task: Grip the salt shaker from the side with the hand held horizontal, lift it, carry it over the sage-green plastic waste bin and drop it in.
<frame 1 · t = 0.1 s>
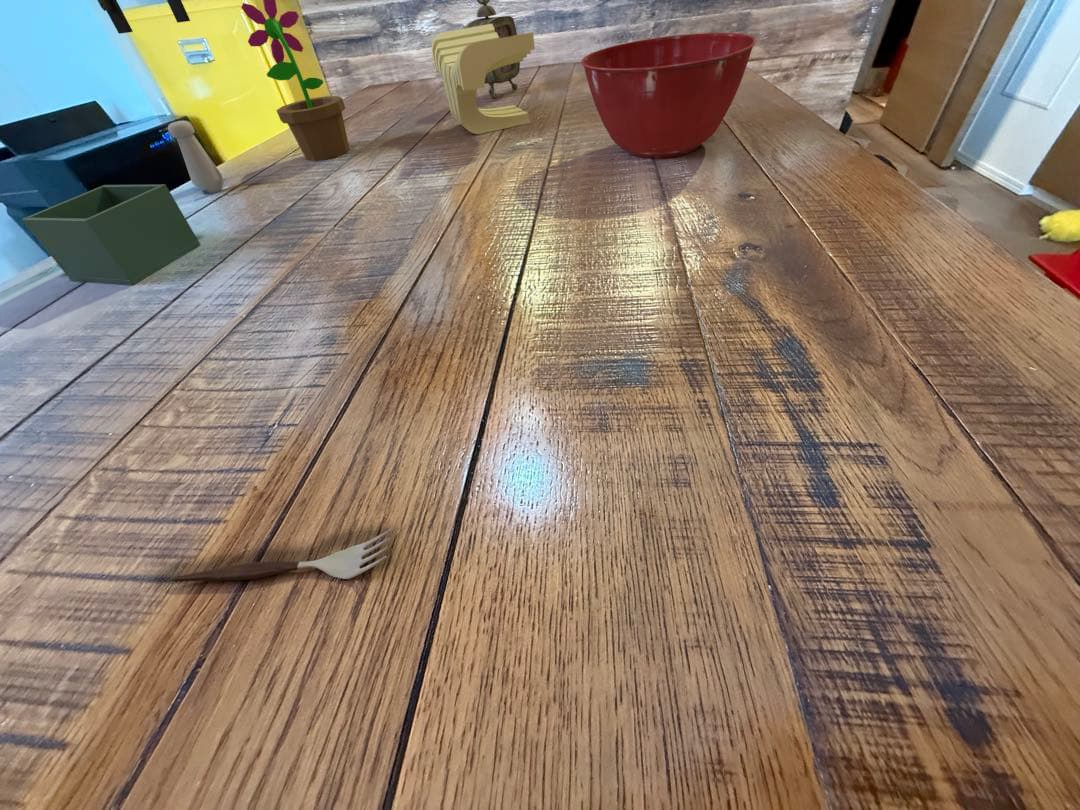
hand: (156, 27, 97), 27 cm above the table, tool pointing down, fingers open, 13 cm apart
fork: (287, 572, 36), on the table
waste bin: (138, 262, 82), on the table
mixing bowl: (661, 147, 96), on the table
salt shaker: (213, 191, 107), on the table
flowerpot: (328, 154, 119), on the table
slatted curved stool: (490, 125, 123), on the table
tabletop clock: (497, 95, 147), on the table
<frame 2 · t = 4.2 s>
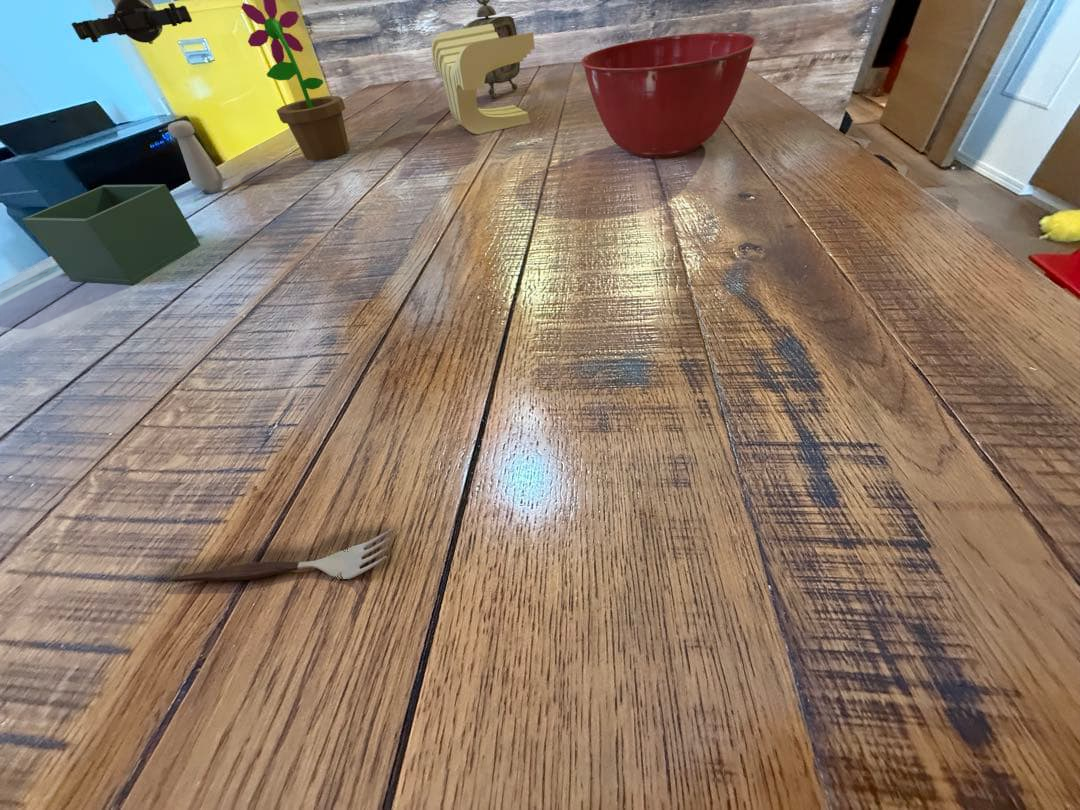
hand: (131, 23, 95), 28 cm above the table, tool horizontal, fingers open, 13 cm apart
nothing on the table moved.
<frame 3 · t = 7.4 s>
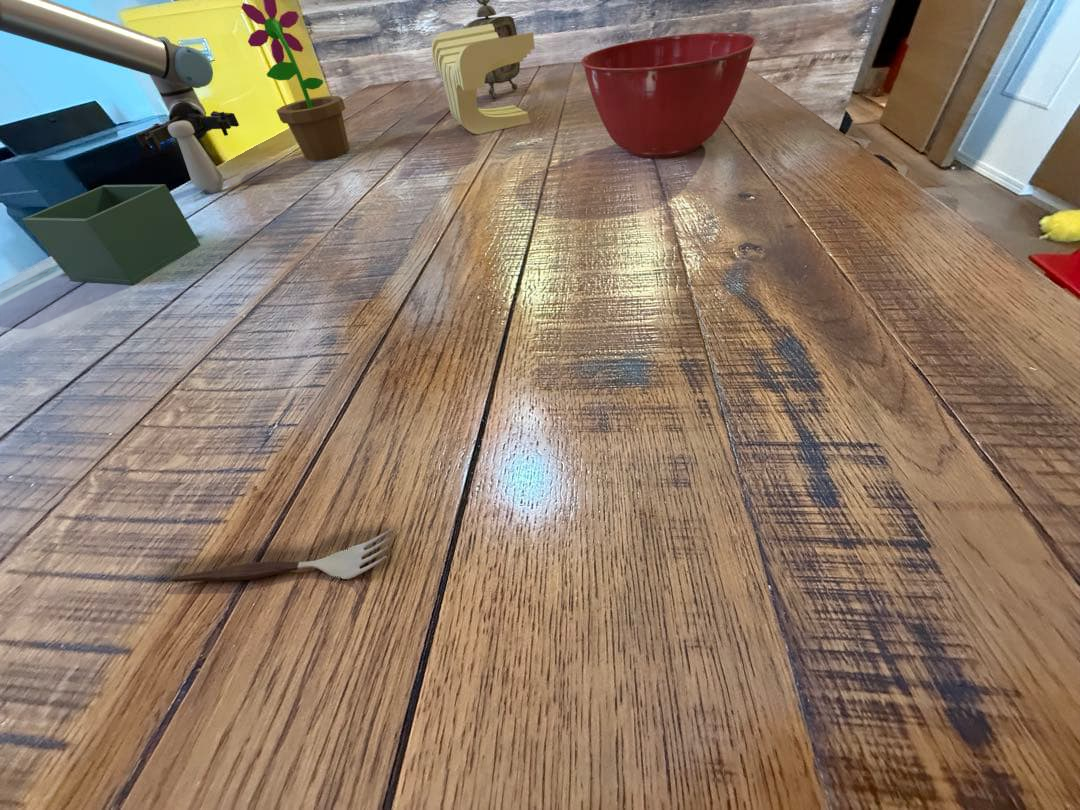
hand: (189, 136, 108), 9 cm above the table, tool horizontal, fingers open, 13 cm apart
nothing on the table moved.
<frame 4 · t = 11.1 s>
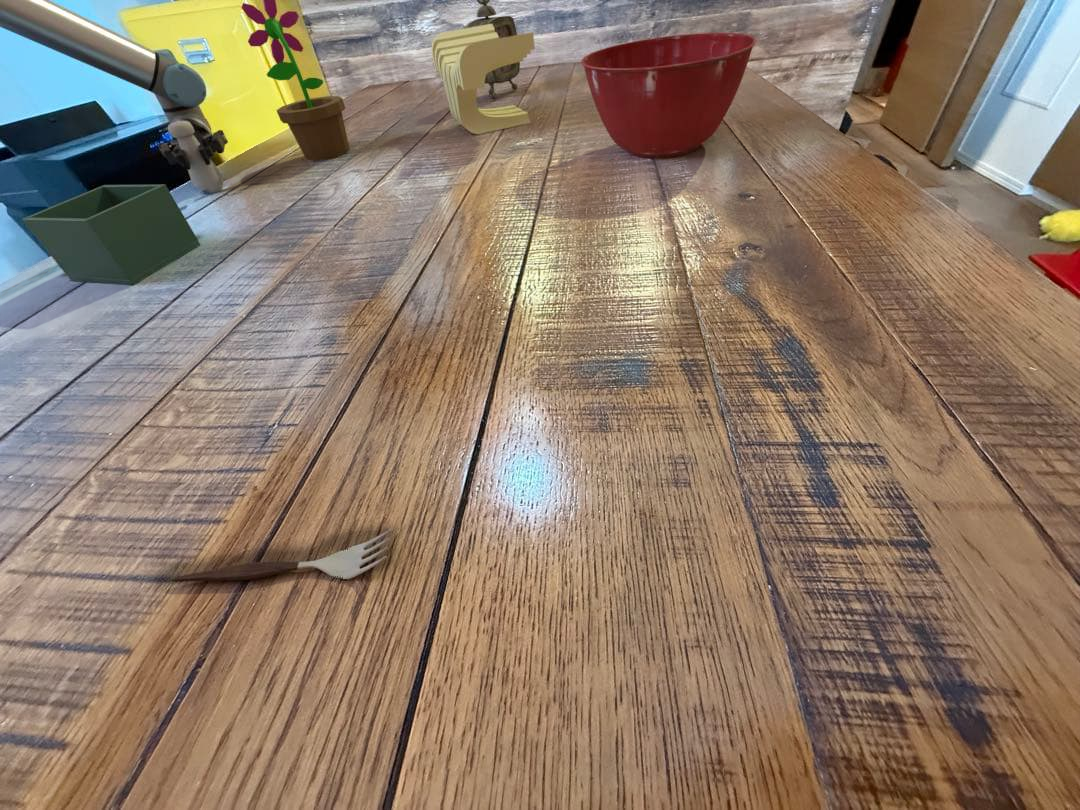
hand: (194, 159, 99), 7 cm above the table, tool horizontal, fingers closed on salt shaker, 3 cm apart
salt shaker: (213, 191, 107), on the table, touching gripper
everything else where it was.
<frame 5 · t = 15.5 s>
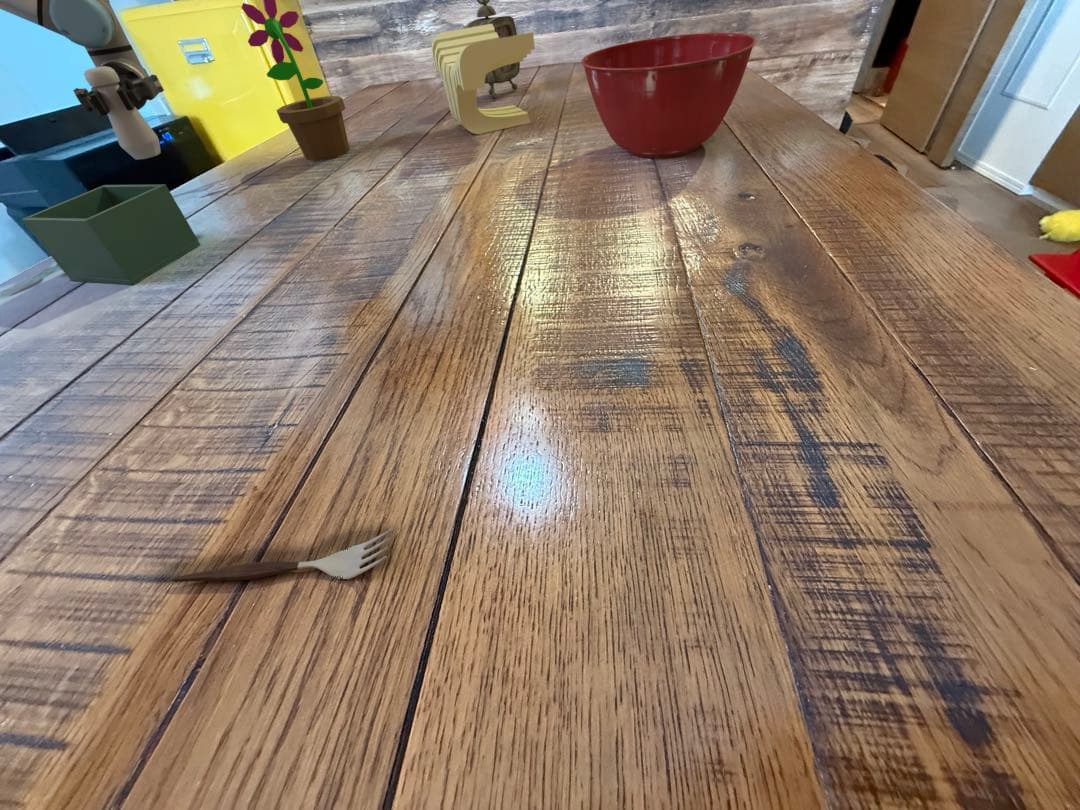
hand: (111, 103, 79), 20 cm above the table, tool horizontal, fingers closed on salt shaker, 3 cm apart
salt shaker: (148, 157, 89), point 11 cm above the table, touching gripper
everything else where it was.
when the fingers open (15 cm above the table, at t = 19.9 s): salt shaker drops 5 cm, resting on waste bin.
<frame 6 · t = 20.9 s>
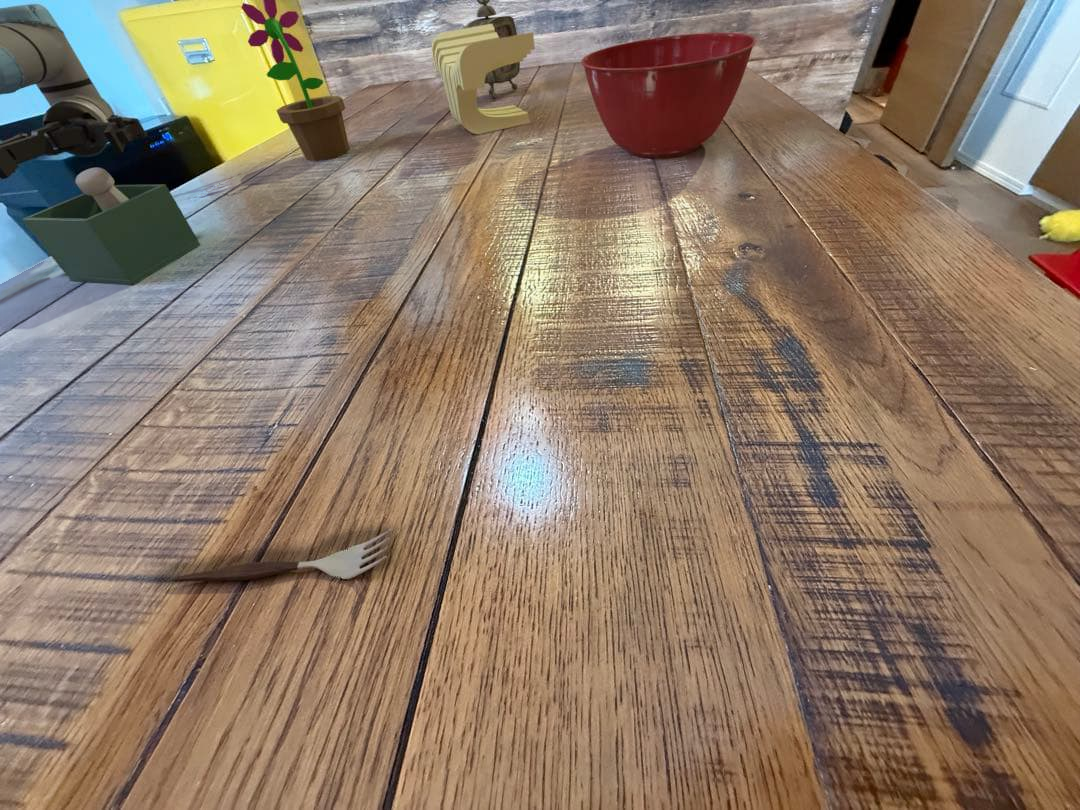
hand: (56, 155, 68), 17 cm above the table, tool horizontal, fingers open, 13 cm apart
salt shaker: (155, 249, 82), point 1 cm above the table, touching waste bin
everything else where it was.
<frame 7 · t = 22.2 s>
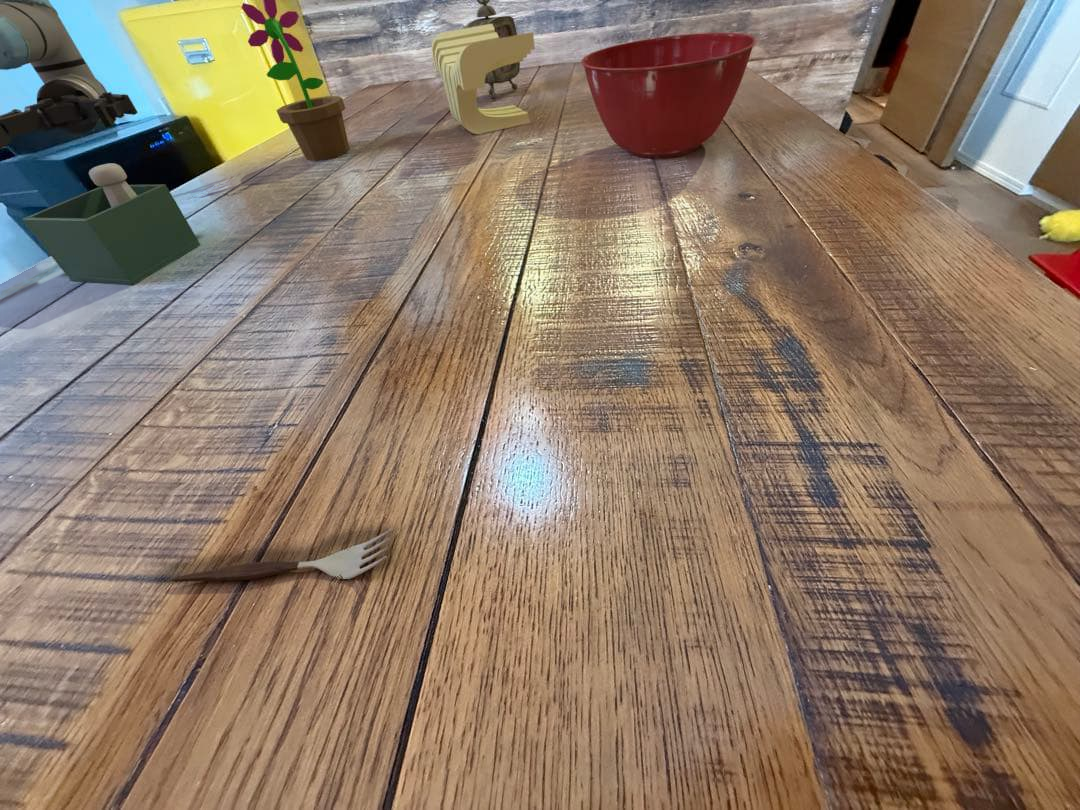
hand: (47, 127, 70), 19 cm above the table, tool horizontal, fingers open, 13 cm apart
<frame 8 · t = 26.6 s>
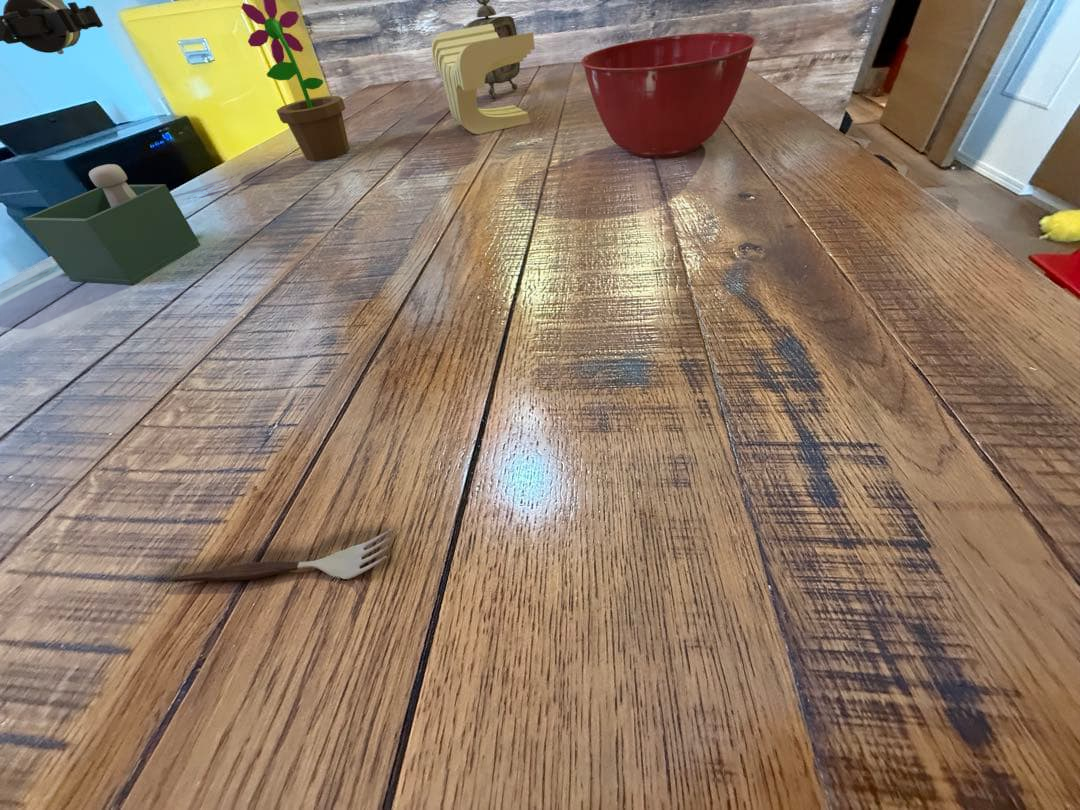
hand: (10, 29, 71), 30 cm above the table, tool horizontal, fingers open, 13 cm apart
at the end: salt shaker inside the target area in the waste bin (3.3 cm from its centre), point 0.6 cm above the waste bin's base; the gripper is holding nothing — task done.
